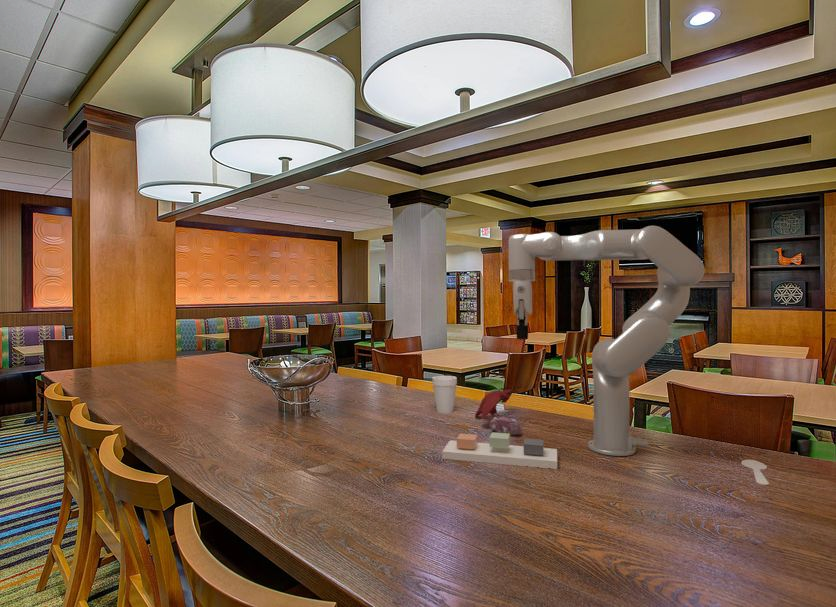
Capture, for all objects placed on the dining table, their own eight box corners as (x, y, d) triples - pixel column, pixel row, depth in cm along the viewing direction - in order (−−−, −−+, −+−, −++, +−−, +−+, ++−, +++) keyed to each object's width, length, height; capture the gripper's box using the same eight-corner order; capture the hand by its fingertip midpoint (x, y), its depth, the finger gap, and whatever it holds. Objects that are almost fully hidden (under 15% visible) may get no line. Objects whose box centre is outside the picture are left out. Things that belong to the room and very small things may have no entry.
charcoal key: (543, 449, 126) (543, 439, 125) (543, 455, 121) (543, 445, 121) (524, 447, 127) (524, 438, 127) (523, 453, 122) (523, 444, 122)
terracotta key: (477, 443, 131) (477, 434, 131) (474, 449, 126) (474, 440, 126) (460, 442, 132) (460, 433, 132) (456, 447, 127) (456, 438, 127)
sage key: (509, 442, 128) (509, 433, 128) (508, 448, 123) (508, 439, 123) (491, 441, 129) (491, 432, 129) (489, 446, 125) (489, 437, 125)
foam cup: (428, 410, 180) (428, 376, 180) (449, 407, 184) (449, 374, 184) (439, 415, 172) (439, 380, 171) (461, 412, 175) (461, 378, 175)
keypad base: (557, 456, 127) (556, 448, 127) (557, 469, 117) (557, 461, 117) (450, 447, 135) (450, 440, 135) (442, 458, 126) (442, 451, 126)
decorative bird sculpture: (475, 442, 154) (505, 412, 149) (456, 421, 157) (485, 391, 152) (499, 421, 179) (525, 395, 175) (482, 403, 182) (507, 377, 178)
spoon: (749, 483, 108) (749, 481, 108) (739, 459, 124) (739, 457, 124) (777, 488, 106) (777, 485, 106) (764, 463, 121) (764, 461, 121)
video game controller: (489, 437, 149) (486, 420, 147) (493, 428, 153) (490, 411, 150) (520, 442, 145) (517, 424, 142) (523, 432, 148) (520, 414, 146)
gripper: (534, 275, 128) (535, 341, 128) (535, 277, 142) (535, 336, 142) (506, 275, 130) (507, 341, 130) (510, 277, 144) (511, 336, 144)
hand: (522, 338), depth 136 cm, fingers closed
